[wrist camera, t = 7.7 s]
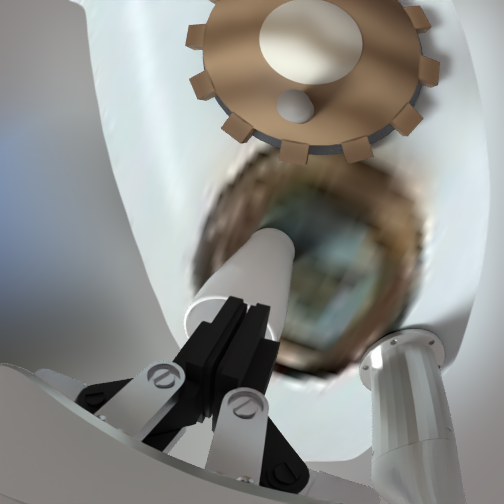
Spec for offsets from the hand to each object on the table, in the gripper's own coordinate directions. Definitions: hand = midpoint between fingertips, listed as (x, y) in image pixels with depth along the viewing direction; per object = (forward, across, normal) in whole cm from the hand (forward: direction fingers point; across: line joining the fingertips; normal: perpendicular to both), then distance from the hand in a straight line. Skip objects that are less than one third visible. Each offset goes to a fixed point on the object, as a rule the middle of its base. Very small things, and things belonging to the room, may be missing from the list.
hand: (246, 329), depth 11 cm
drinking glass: (+20, +3, +5) cm, 21 cm away
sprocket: (+18, +1, -17) cm, 25 cm away
